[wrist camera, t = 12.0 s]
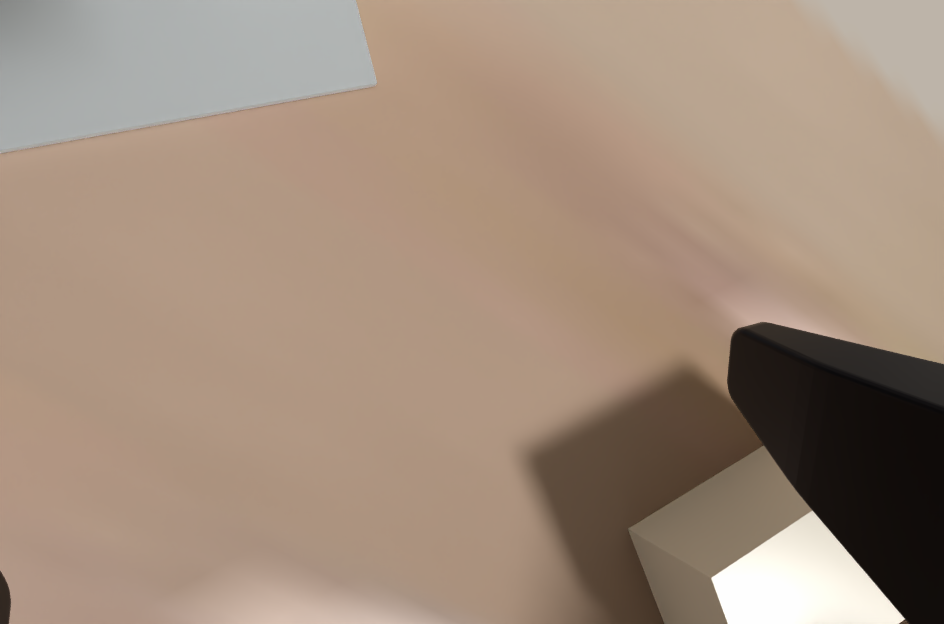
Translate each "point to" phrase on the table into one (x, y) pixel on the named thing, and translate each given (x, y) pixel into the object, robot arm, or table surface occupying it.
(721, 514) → the block
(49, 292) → the table surface
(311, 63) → the rail plate
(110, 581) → the table surface
